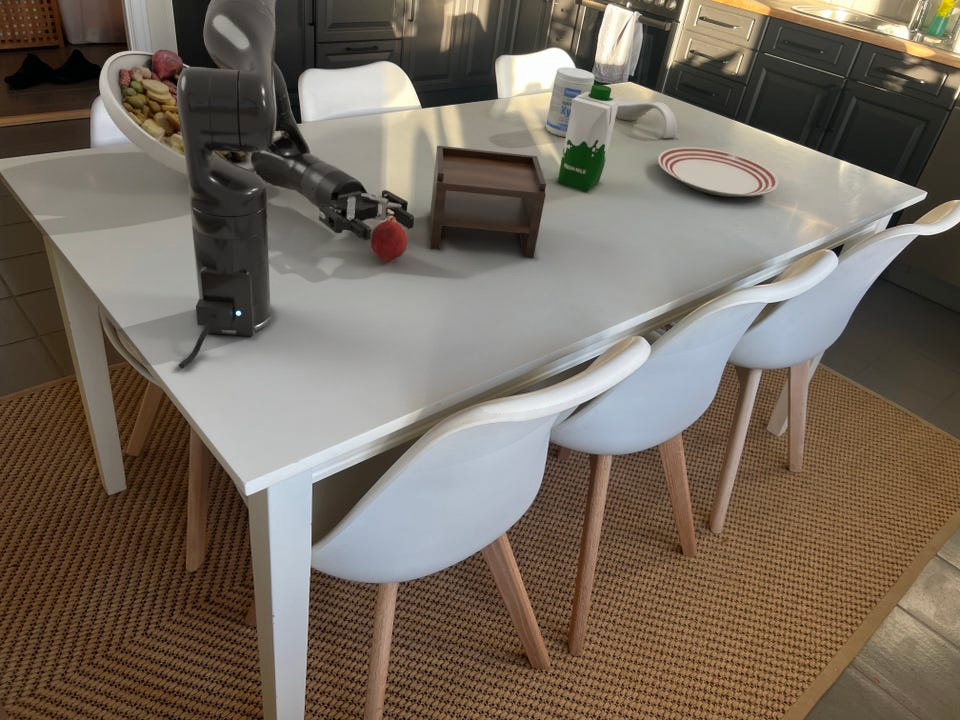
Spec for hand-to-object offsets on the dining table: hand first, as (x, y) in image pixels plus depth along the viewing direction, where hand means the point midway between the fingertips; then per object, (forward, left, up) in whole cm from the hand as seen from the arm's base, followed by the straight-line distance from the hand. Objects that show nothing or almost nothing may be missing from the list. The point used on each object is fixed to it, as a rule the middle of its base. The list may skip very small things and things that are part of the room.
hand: (391, 228), depth 120 cm
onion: (0, 0, -6) cm, 6 cm away
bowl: (+30, +40, +1) cm, 51 cm away
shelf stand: (+13, -16, -6) cm, 21 cm away
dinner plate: (+53, -73, -6) cm, 90 cm away
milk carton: (+43, -39, -6) cm, 58 cm away
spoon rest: (+91, -64, -6) cm, 111 cm away
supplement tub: (+77, -41, -6) cm, 88 cm away
